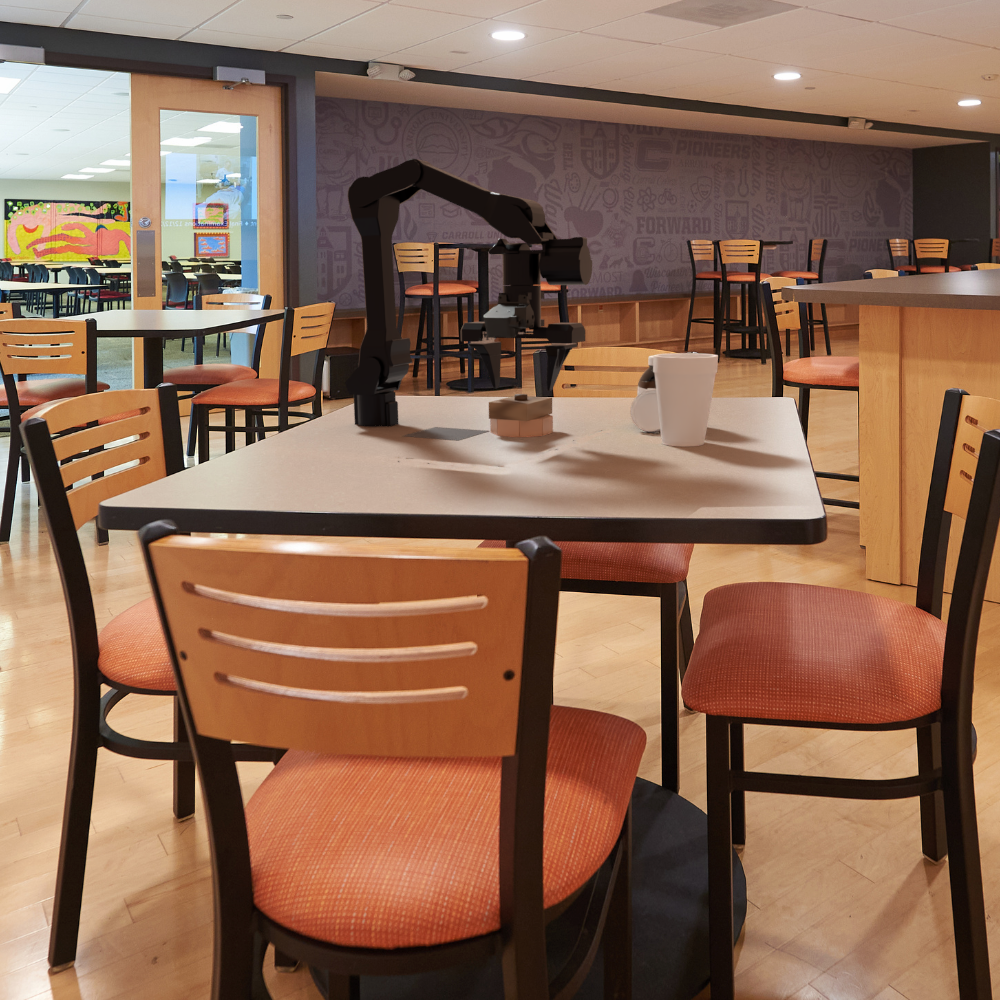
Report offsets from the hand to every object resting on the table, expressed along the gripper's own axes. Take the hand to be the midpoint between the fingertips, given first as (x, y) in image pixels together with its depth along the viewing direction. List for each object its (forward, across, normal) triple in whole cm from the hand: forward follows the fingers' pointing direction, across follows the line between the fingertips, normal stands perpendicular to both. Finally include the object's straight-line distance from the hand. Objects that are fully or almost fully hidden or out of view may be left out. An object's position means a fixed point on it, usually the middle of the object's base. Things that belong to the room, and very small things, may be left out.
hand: (522, 389), depth 151 cm
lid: (+4, 0, 0) cm, 4 cm away
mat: (+8, -10, -6) cm, 14 cm away
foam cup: (+8, +24, +6) cm, 26 cm away
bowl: (+8, 0, 0) cm, 8 cm away
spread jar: (+8, +17, +18) cm, 26 cm away
